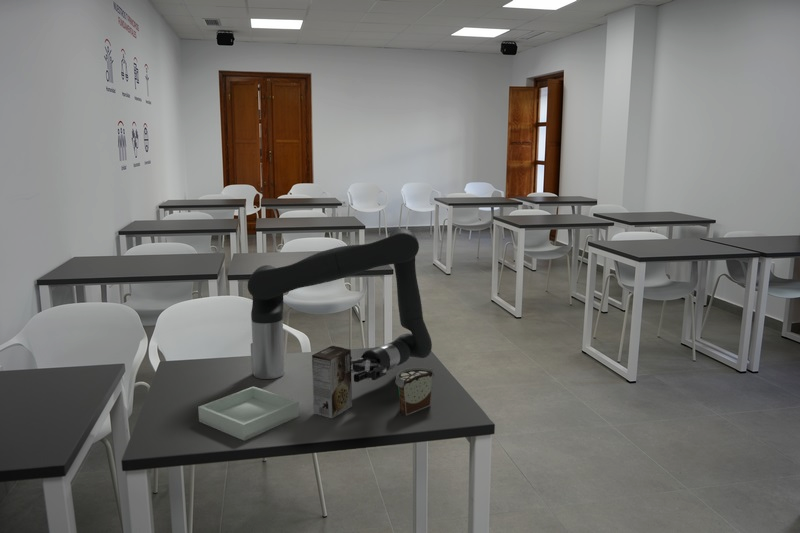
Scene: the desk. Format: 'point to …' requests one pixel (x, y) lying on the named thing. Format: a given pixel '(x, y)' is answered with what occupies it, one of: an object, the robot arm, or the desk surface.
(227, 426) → the tray
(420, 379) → the food container
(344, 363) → the brown cardboard box
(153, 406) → the desk surface
